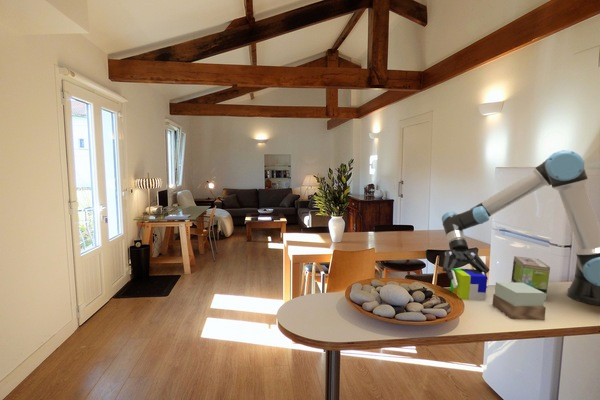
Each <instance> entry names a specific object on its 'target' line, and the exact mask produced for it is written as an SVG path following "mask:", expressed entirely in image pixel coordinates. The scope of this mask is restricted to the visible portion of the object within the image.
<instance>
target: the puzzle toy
mask: <svg viewBox="0 0 600 400" xmlns="http://www.w3.org/2000/svg"><path fill="white" fill-rule="evenodd" d="M451 271H454V273H455V276H456V280H457V283H458V285H457V287H456V288H454V287H453V284H452V280H450V287H449V288H450V289H449V291H451V293H452V294H454V293H455V294H456V295H458V296H459V297H460V298H461V299H460V298H459V297H458V298H459V299H460V300H471V301H486V297H487V295H486V294H487V288H486V286H487V283H488V280H487V278H488V276H485V275H484V274H482V273H480V272H479V271H477V270H476V269H475V268H474V269H473V268H454V267H453V269H452V270H451ZM455 294H454V295H455ZM456 295H455V296H456Z"/></svg>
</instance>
